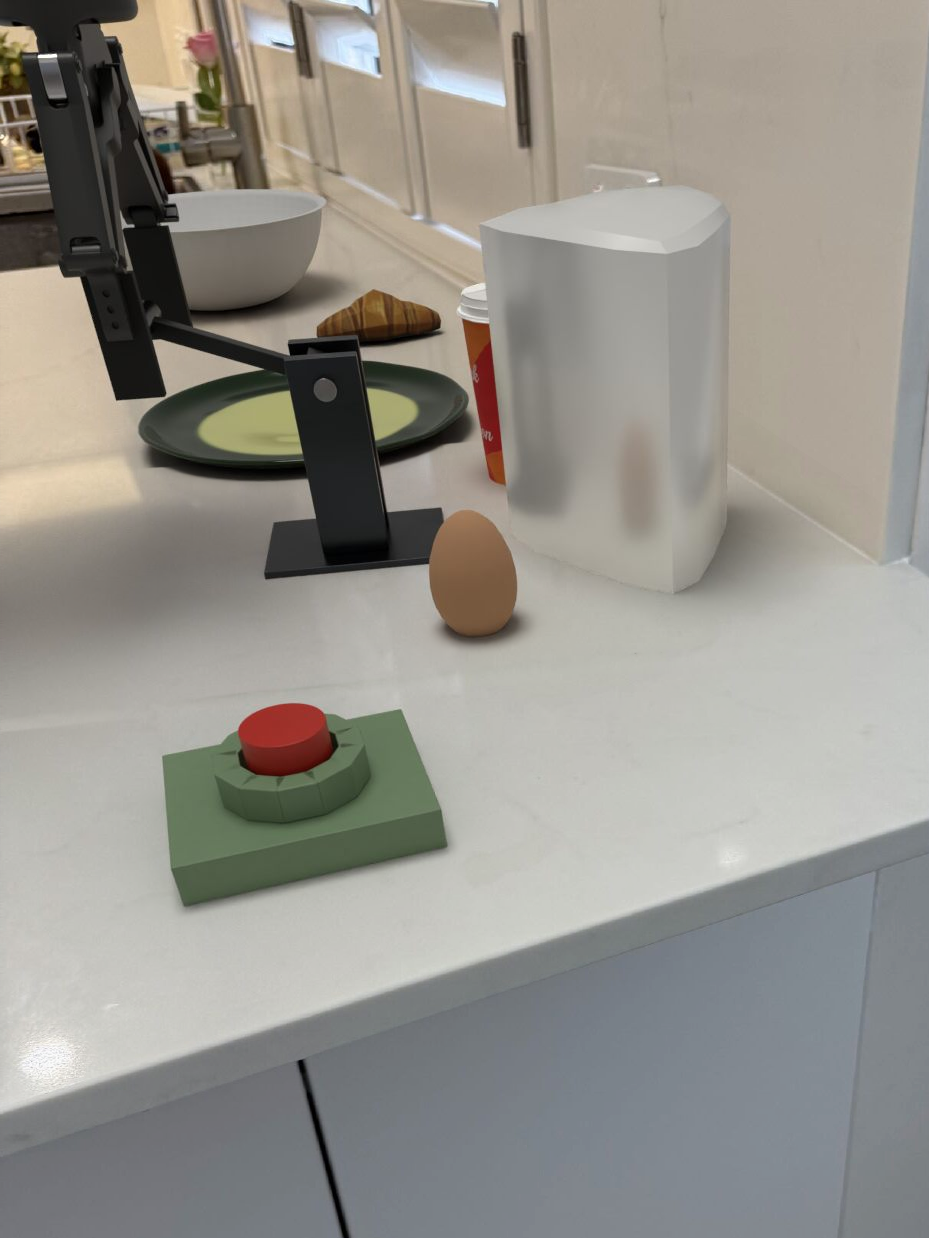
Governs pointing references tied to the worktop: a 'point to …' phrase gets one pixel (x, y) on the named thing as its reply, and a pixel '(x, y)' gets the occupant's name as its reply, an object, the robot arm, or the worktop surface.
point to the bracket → (342, 474)
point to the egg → (472, 575)
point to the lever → (214, 342)
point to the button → (285, 739)
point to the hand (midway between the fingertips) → (158, 365)
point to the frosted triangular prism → (614, 379)
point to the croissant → (380, 319)
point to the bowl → (242, 244)
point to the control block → (298, 811)
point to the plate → (293, 416)
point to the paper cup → (483, 375)
